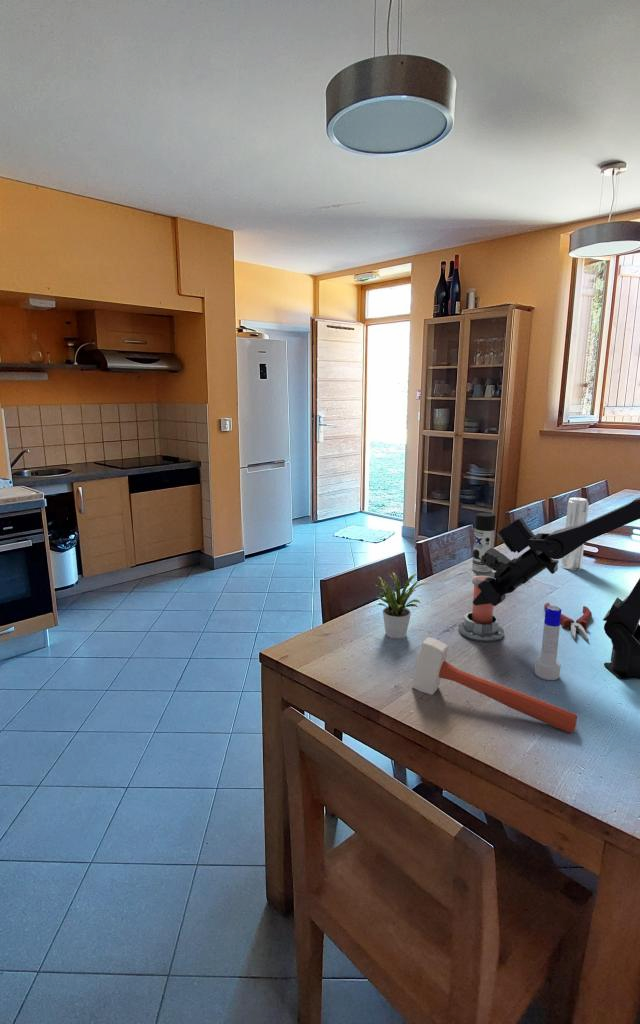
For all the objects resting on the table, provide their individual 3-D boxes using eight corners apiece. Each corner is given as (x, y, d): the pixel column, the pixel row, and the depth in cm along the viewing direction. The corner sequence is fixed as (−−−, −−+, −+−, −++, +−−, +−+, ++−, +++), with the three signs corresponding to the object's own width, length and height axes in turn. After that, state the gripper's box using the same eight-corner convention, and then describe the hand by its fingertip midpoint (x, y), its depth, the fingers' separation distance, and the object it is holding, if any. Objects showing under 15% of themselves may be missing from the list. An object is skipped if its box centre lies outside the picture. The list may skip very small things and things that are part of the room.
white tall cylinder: (562, 569, 188) (569, 499, 183) (560, 563, 194) (567, 496, 189) (582, 571, 186) (590, 500, 181) (579, 565, 192) (587, 497, 187)
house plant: (431, 626, 141) (434, 567, 138) (427, 649, 128) (430, 585, 125) (377, 620, 145) (379, 562, 141) (368, 642, 132) (370, 579, 128)
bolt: (532, 677, 116) (536, 667, 120) (557, 683, 113) (560, 673, 117) (539, 609, 112) (542, 601, 116) (565, 614, 110) (567, 606, 114)
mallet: (584, 698, 96) (426, 634, 111) (581, 707, 93) (420, 641, 108) (568, 747, 99) (417, 679, 114) (565, 758, 96) (410, 687, 111)
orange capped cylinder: (497, 630, 134) (500, 583, 132) (473, 631, 134) (476, 583, 131) (489, 620, 140) (492, 575, 137) (466, 621, 140) (469, 575, 137)
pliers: (555, 641, 134) (556, 631, 133) (542, 609, 154) (543, 600, 153) (607, 647, 131) (609, 636, 130) (587, 614, 151) (588, 605, 150)
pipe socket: (510, 641, 132) (511, 626, 131) (465, 642, 132) (466, 627, 131) (494, 622, 143) (495, 609, 142) (453, 623, 143) (453, 609, 142)
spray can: (467, 568, 188) (471, 513, 184) (482, 566, 191) (486, 511, 187) (480, 574, 182) (484, 517, 178) (496, 571, 185) (500, 515, 181)
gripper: (515, 533, 137) (472, 566, 146) (489, 548, 123) (442, 584, 132) (545, 568, 134) (498, 599, 143) (521, 588, 120) (471, 622, 128)
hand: (477, 600), depth 136 cm, fingers closed on orange capped cylinder, 5 cm apart
